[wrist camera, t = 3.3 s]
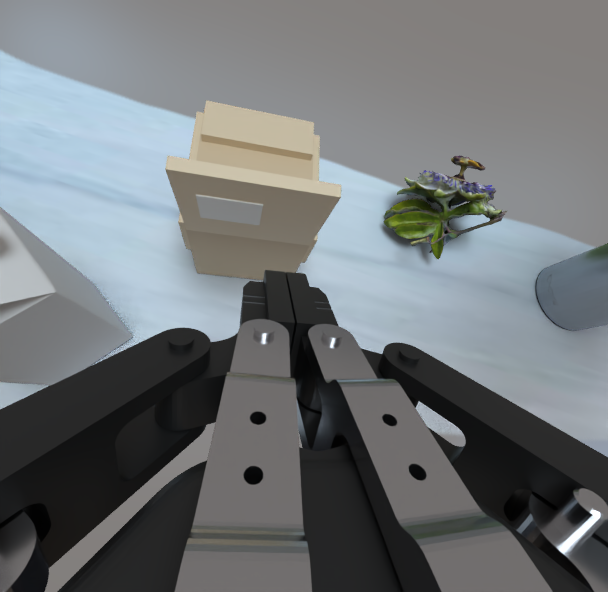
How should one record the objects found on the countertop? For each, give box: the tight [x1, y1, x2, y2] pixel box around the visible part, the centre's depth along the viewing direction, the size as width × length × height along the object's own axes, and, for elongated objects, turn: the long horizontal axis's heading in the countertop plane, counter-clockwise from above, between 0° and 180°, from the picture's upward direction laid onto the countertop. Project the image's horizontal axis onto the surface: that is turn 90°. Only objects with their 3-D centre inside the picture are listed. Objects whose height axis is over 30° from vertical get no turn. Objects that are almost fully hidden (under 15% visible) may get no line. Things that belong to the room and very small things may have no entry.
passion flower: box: [384, 156, 507, 259], centre depth 40 cm, size 11×11×12 cm
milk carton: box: [0, 207, 132, 385], centre depth 22 cm, size 7×7×19 cm
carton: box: [178, 101, 320, 280], centre depth 32 cm, size 11×12×11 cm
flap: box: [165, 156, 341, 246], centre depth 22 cm, size 10×8×1 cm
